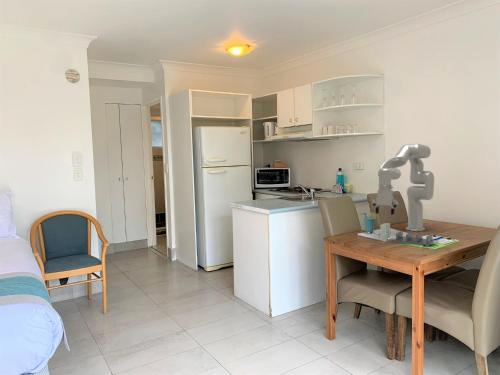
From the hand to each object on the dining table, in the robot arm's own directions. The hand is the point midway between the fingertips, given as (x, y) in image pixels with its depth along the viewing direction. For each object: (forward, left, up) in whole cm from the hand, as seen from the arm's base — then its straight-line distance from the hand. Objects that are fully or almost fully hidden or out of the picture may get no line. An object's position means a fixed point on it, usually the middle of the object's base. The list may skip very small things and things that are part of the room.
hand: (384, 214), depth 252 cm
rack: (0, +18, -17) cm, 25 cm away
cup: (-16, -17, -17) cm, 28 cm away
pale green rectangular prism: (0, 0, -17) cm, 17 cm away
